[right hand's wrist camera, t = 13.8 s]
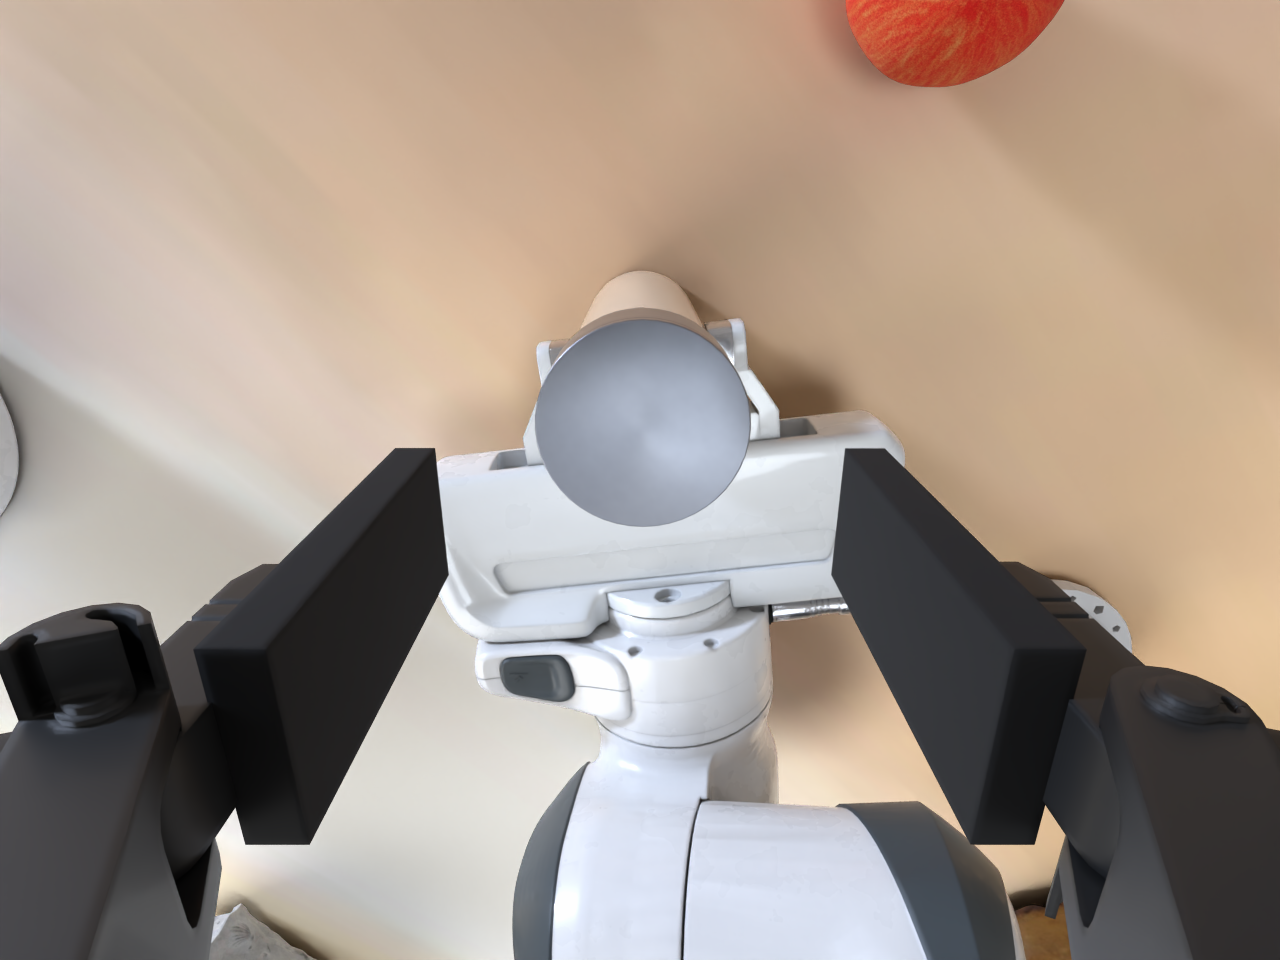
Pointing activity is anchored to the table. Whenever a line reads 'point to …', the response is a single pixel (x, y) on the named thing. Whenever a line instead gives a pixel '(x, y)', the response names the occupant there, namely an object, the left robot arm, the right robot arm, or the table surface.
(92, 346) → the table surface
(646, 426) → the lid
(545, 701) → the left robot arm
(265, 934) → the grey rock
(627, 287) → the white bottle
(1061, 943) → the bread
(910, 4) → the apple
